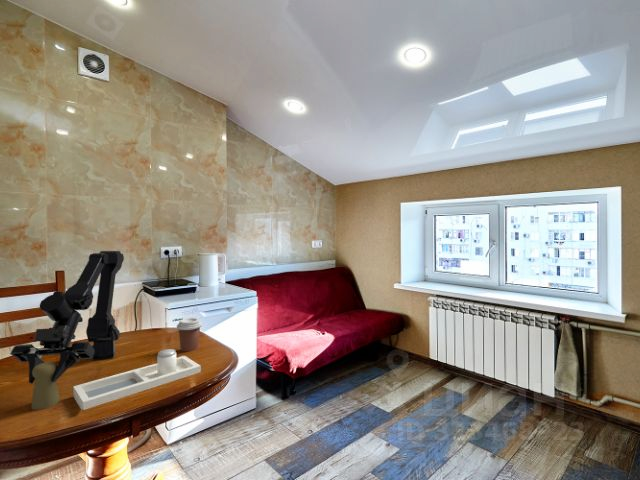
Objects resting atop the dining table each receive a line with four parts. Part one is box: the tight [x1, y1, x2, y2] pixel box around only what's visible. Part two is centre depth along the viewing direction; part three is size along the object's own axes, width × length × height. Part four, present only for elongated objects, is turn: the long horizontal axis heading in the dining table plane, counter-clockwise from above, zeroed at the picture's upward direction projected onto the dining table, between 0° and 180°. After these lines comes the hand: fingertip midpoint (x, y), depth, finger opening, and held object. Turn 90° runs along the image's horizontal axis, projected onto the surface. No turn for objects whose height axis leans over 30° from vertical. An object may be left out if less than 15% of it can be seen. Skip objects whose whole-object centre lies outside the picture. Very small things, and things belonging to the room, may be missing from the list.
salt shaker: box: [156, 348, 177, 377], centre depth 108 cm, size 6×6×7 cm
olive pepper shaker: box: [30, 361, 61, 411], centre depth 92 cm, size 6×6×11 cm
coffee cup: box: [176, 317, 203, 352], centre depth 131 cm, size 9×9×12 cm
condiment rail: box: [72, 355, 202, 411], centre depth 103 cm, size 32×12×3 cm, turn 136°
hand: (41, 382), depth 90 cm, fingers closed on olive pepper shaker, 5 cm apart
